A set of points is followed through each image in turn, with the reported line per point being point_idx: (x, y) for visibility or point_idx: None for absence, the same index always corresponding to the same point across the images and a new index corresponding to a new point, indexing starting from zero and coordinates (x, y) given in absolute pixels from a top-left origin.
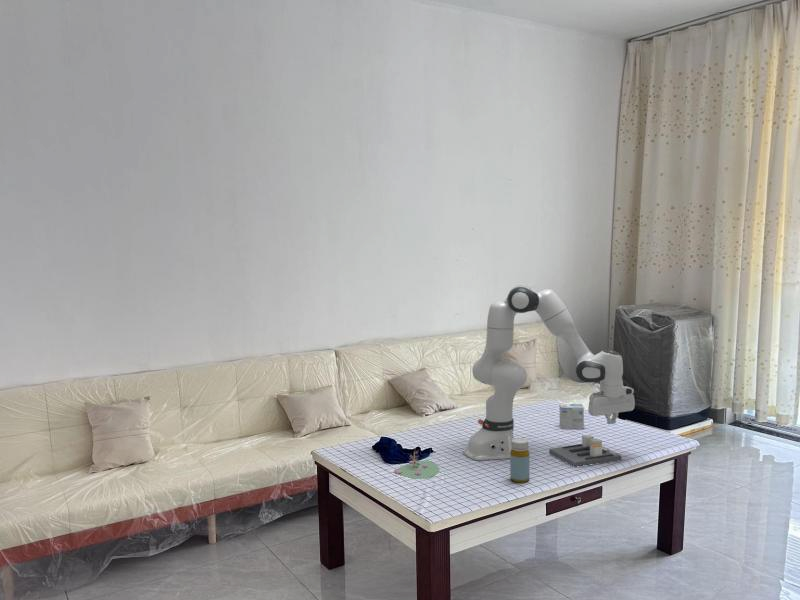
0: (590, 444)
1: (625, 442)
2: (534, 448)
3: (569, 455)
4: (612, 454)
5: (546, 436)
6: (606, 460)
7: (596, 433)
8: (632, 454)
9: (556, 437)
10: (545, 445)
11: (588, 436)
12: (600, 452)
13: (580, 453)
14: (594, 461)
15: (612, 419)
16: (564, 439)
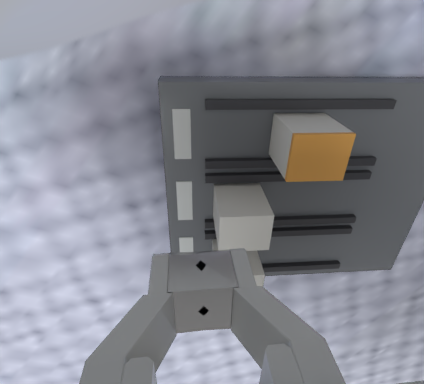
0: (340, 179)
1: (3, 271)
2: (375, 302)
3: (399, 182)
4: (212, 100)
5: (255, 366)
6: (263, 79)
7: (77, 358)
8: (44, 132)
9: (233, 355)
10: (321, 314)
11: None
12: (292, 119)
13: (351, 176)
14: (345, 80)
15: (194, 304)
16: (222, 339)
